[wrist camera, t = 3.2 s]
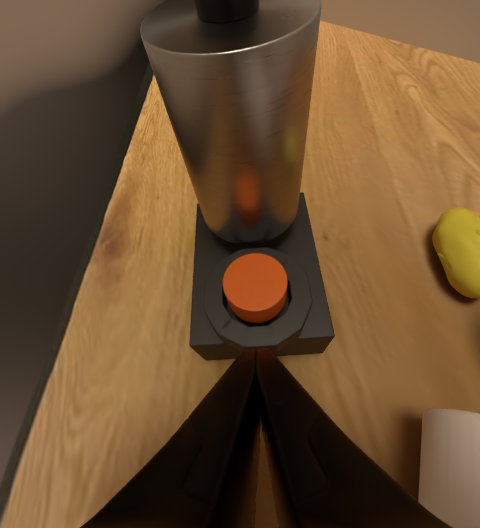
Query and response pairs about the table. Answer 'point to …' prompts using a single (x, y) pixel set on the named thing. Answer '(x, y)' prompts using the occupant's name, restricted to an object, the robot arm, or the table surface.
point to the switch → (255, 287)
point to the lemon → (460, 249)
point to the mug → (451, 466)
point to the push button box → (295, 308)
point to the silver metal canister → (238, 104)
